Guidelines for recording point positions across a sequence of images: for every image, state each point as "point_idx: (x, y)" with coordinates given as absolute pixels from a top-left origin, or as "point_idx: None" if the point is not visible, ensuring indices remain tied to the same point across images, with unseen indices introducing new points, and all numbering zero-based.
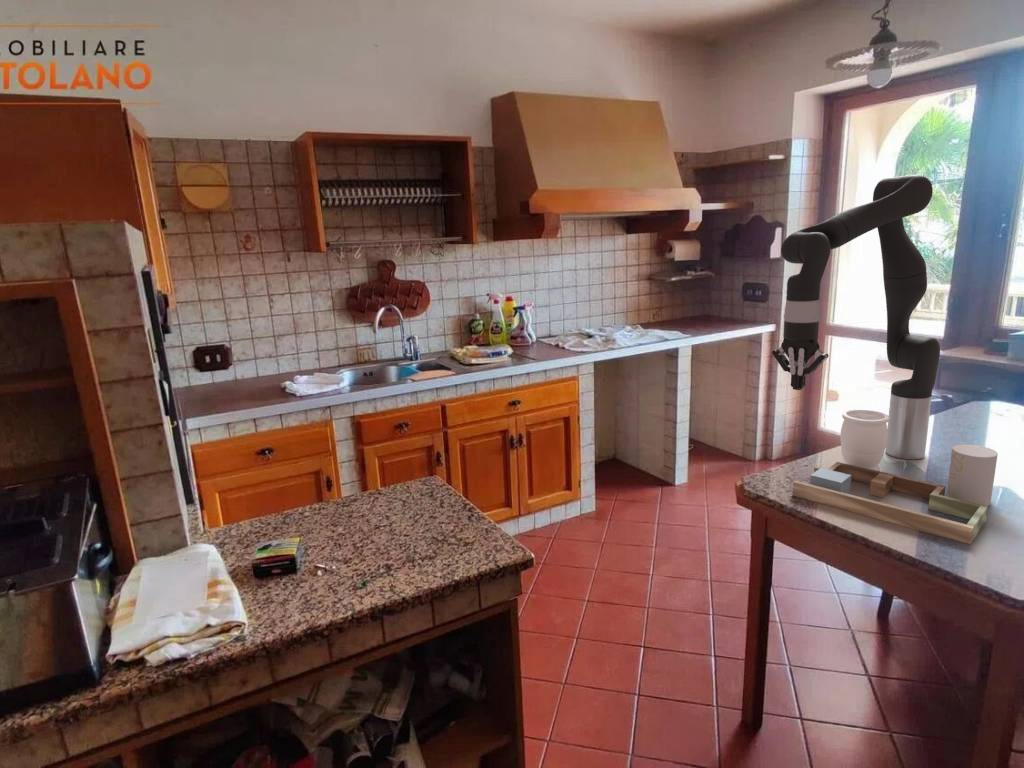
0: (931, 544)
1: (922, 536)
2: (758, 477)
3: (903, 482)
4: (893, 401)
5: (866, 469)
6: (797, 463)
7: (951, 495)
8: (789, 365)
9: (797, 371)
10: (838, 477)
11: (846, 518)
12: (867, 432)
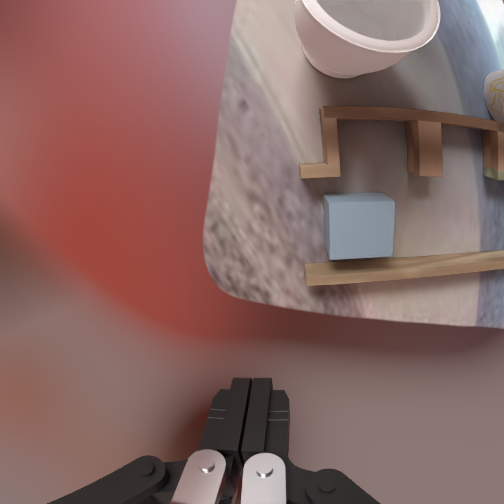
0: (490, 286)
1: (483, 273)
2: (210, 239)
3: (452, 124)
4: None
5: (391, 114)
6: (222, 106)
7: (499, 119)
8: (157, 496)
9: (233, 484)
10: (379, 233)
11: (404, 293)
12: (399, 56)
